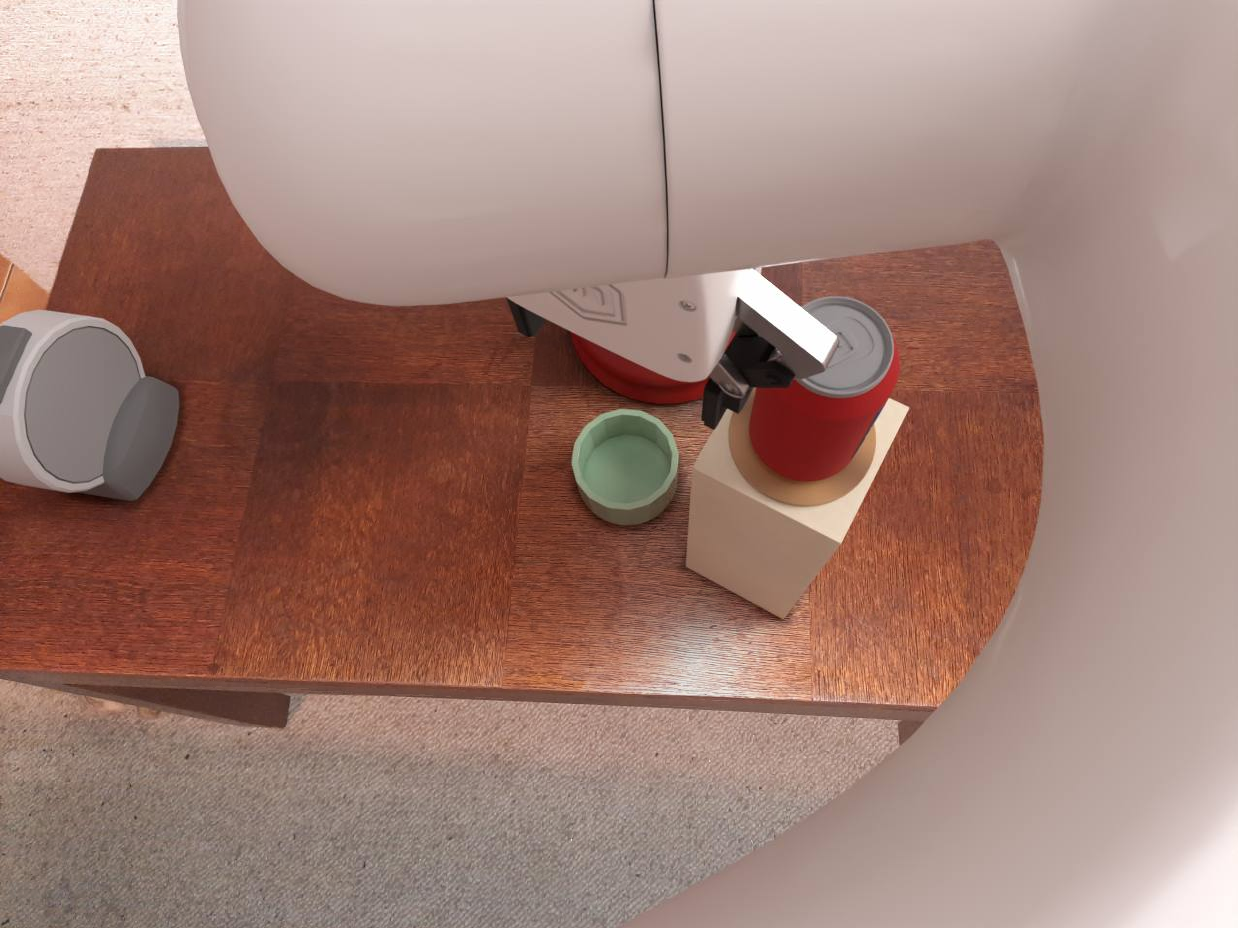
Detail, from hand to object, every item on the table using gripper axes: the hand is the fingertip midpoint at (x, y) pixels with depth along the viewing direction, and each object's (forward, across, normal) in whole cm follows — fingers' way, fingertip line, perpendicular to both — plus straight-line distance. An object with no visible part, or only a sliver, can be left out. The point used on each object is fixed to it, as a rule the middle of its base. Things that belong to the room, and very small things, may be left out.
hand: (631, 355), depth 40 cm
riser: (+42, +8, +6) cm, 43 cm away
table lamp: (+42, -11, +23) cm, 50 cm away
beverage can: (+14, +8, +6) cm, 17 cm away
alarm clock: (+42, -53, -15) cm, 70 cm away
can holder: (+42, -6, +6) cm, 43 cm away
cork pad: (+14, +8, +6) cm, 17 cm away
